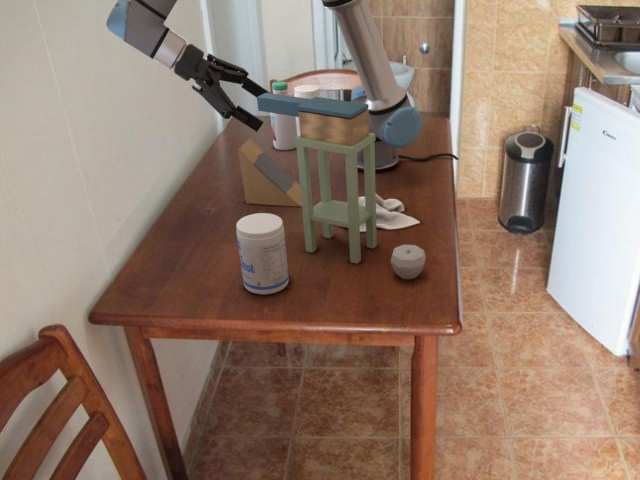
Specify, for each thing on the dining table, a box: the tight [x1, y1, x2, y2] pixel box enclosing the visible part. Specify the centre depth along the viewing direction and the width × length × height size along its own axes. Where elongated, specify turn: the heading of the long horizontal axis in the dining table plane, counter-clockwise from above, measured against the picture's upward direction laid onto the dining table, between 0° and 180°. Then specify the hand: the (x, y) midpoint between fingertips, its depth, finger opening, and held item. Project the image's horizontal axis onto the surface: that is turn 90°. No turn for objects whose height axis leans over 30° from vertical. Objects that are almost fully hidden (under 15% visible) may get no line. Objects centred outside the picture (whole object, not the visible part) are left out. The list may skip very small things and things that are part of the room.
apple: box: [390, 244, 427, 280], centre depth 143 cm, size 8×8×7 cm
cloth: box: [358, 193, 421, 233], centre depth 167 cm, size 22×19×6 cm
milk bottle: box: [269, 81, 297, 151], centre depth 206 cm, size 8×8×20 cm
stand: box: [294, 133, 378, 265], centre depth 147 cm, size 14×10×27 cm
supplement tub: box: [235, 212, 290, 295], centre depth 137 cm, size 10×10×15 cm
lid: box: [256, 92, 369, 118], centre depth 140 cm, size 24×8×3 cm, turn 64°
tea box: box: [299, 109, 369, 146], centre depth 139 cm, size 12×8×5 cm, turn 64°
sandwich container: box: [237, 138, 302, 208], centre depth 174 cm, size 9×15×15 cm, turn 81°
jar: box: [293, 84, 323, 137], centre depth 218 cm, size 12×10×15 cm
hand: (264, 112), depth 154 cm, fingers open, 13 cm apart
